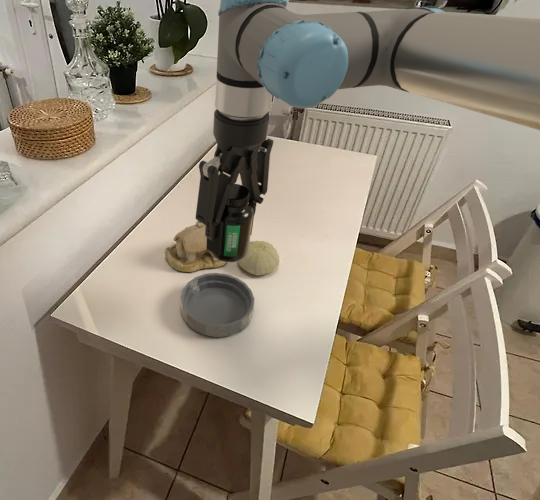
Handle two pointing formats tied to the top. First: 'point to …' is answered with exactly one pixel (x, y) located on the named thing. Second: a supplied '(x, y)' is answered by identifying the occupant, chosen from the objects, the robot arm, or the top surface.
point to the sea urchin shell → (260, 258)
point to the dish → (217, 304)
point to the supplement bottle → (236, 225)
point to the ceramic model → (191, 250)
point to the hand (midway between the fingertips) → (229, 241)
